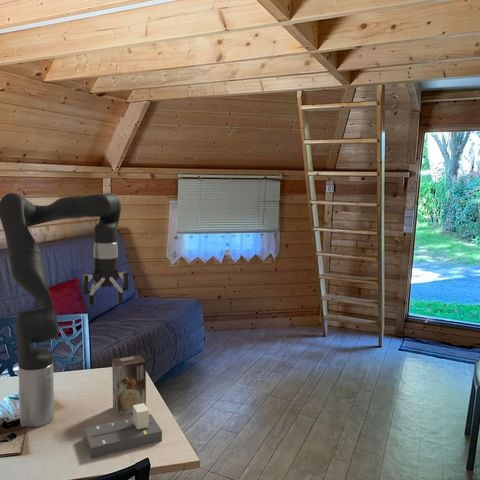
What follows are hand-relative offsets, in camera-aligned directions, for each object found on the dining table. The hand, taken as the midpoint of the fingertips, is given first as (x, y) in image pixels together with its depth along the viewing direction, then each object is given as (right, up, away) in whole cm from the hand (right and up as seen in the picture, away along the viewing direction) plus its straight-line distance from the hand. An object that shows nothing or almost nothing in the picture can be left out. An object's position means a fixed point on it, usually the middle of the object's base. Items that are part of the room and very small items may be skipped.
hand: (105, 304), depth 152 cm
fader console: (+11, -34, -23) cm, 43 cm away
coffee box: (+9, -32, -6) cm, 34 cm away
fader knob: (+16, -31, -21) cm, 41 cm away
